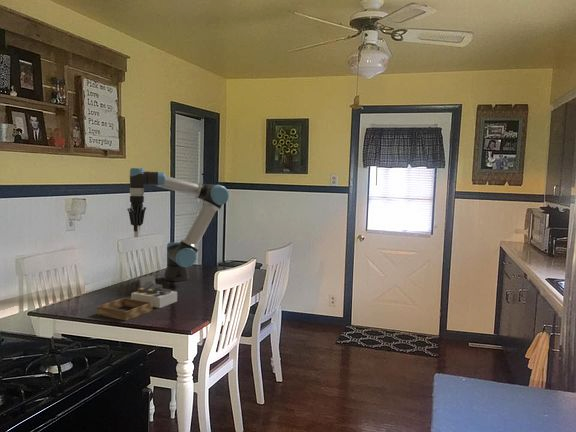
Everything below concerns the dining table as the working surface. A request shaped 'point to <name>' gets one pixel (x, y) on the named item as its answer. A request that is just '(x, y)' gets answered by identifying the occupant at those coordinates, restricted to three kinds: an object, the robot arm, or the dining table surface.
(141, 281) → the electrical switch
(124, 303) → the tray
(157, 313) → the dining table surface
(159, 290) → the rocker
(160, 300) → the switch unit
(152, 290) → the rocker
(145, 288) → the rocker
